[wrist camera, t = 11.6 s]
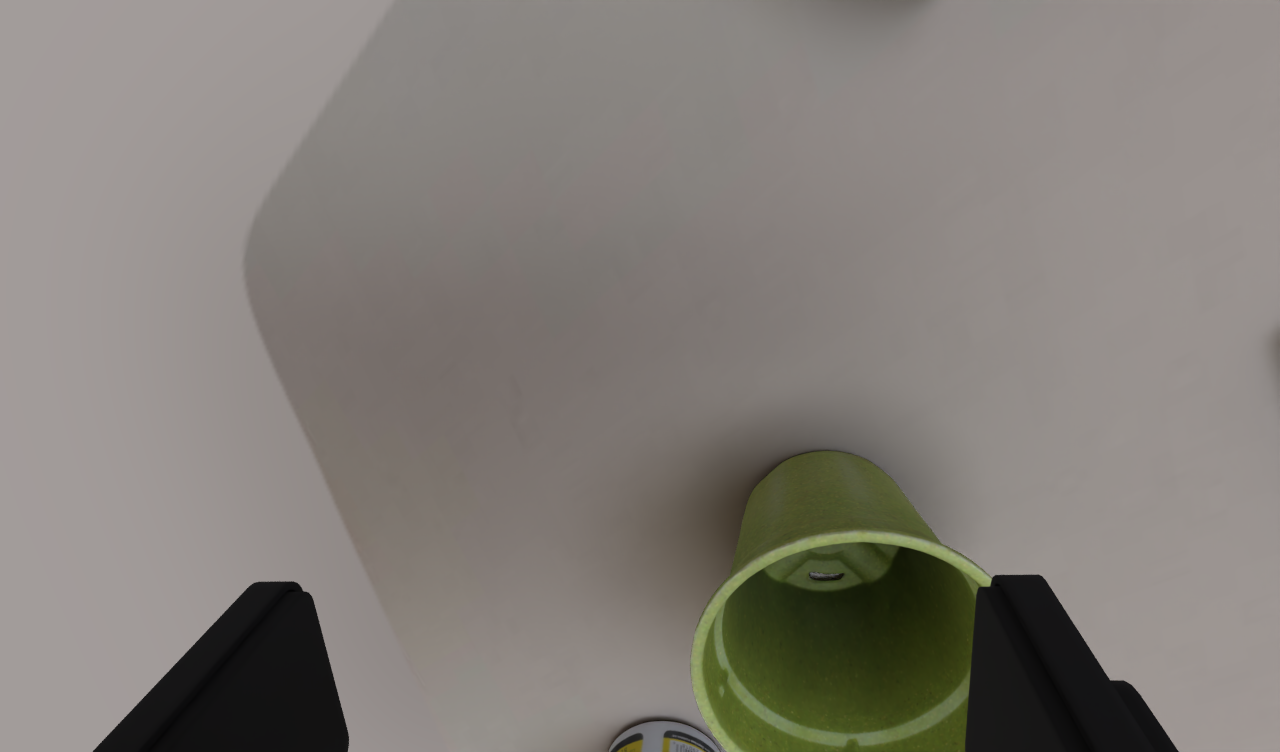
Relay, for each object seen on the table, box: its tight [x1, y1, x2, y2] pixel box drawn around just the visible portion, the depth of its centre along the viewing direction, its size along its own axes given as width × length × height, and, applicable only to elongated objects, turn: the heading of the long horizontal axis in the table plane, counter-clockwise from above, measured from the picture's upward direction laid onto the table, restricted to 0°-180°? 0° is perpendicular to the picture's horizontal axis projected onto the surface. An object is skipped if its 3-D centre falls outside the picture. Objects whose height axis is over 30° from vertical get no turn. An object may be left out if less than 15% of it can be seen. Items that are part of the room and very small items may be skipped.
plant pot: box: [690, 451, 992, 752], centre depth 26 cm, size 9×9×9 cm
